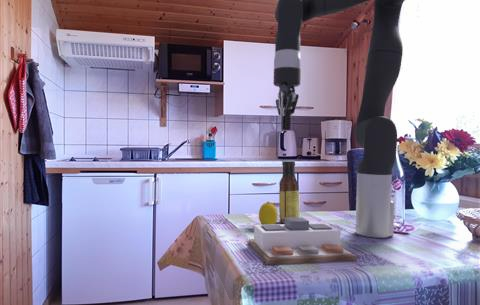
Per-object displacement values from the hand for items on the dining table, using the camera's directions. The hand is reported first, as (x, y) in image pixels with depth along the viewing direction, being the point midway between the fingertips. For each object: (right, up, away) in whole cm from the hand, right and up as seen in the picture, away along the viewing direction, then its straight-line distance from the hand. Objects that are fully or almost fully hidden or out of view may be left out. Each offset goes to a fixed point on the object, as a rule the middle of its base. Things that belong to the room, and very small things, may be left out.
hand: (285, 130), depth 98 cm
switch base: (+1, -29, -18) cm, 34 cm away
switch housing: (0, -29, -16) cm, 33 cm away
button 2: (0, -26, -16) cm, 31 cm away
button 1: (+6, -28, -15) cm, 32 cm away
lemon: (-5, -29, +5) cm, 30 cm away
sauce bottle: (+3, -29, +13) cm, 32 cm away
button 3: (-5, -28, -17) cm, 33 cm away
